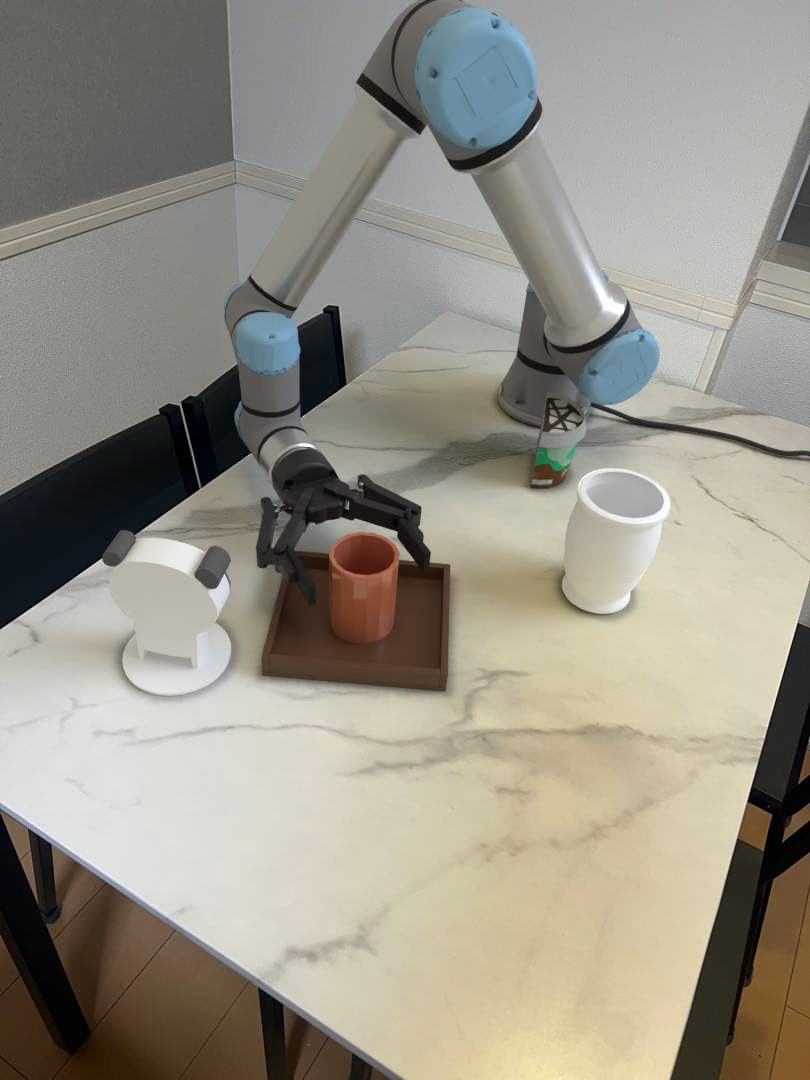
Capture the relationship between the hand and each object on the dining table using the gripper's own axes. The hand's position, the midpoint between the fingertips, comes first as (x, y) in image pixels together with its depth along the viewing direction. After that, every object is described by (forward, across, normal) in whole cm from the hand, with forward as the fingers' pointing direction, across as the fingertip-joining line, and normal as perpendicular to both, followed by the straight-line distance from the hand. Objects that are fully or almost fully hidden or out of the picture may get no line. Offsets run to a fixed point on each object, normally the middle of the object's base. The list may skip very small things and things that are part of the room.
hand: (371, 578), depth 86 cm
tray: (-1, 0, -8) cm, 8 cm away
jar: (+5, -28, -8) cm, 30 cm away
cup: (-1, 0, -8) cm, 8 cm away
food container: (-18, -38, -8) cm, 43 cm away
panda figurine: (-5, +20, -8) cm, 22 cm away
